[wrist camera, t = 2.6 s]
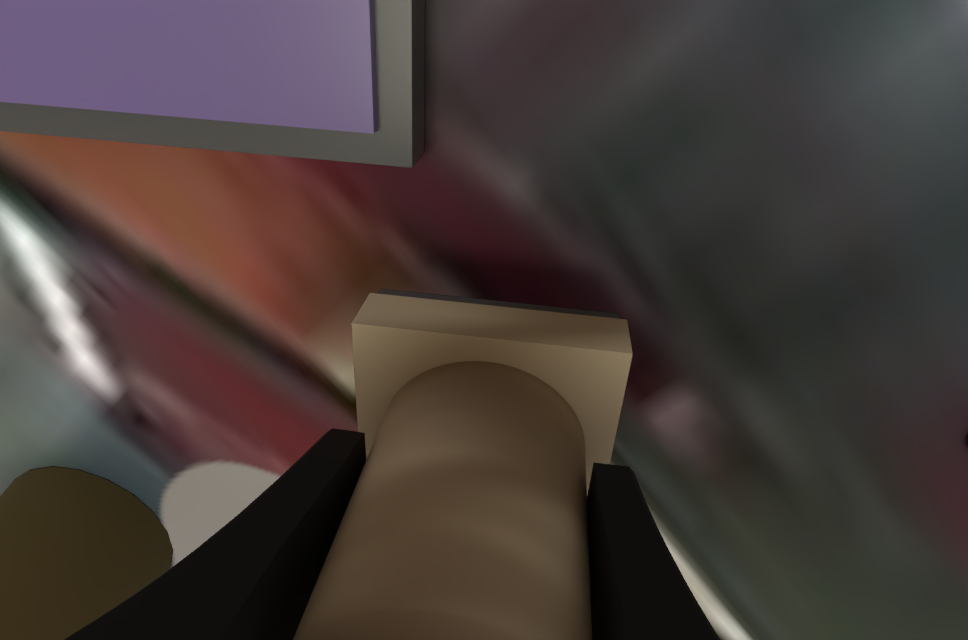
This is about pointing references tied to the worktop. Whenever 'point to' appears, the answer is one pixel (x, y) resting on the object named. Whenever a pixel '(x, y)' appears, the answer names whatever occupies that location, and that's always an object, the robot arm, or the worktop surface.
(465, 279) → the worktop surface
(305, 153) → the ink pad
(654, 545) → the robot arm
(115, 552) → the cork
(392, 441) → the stamp
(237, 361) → the worktop surface
